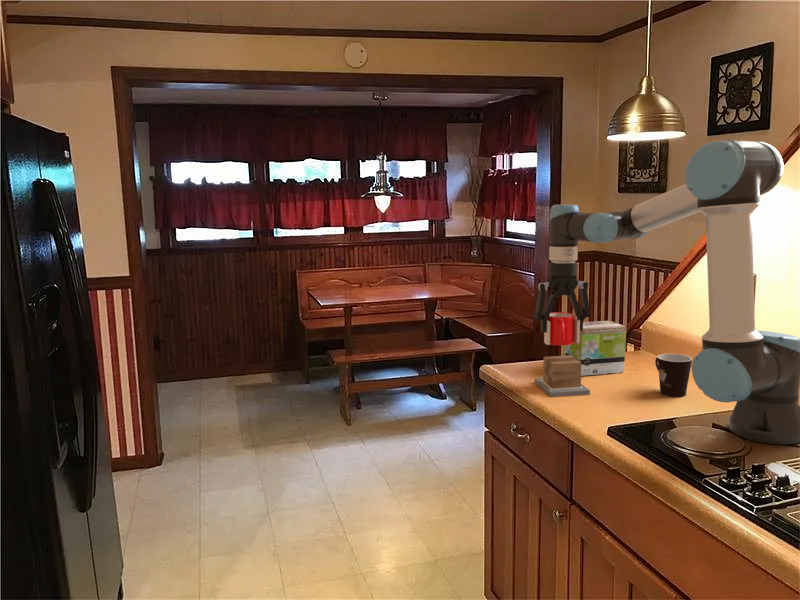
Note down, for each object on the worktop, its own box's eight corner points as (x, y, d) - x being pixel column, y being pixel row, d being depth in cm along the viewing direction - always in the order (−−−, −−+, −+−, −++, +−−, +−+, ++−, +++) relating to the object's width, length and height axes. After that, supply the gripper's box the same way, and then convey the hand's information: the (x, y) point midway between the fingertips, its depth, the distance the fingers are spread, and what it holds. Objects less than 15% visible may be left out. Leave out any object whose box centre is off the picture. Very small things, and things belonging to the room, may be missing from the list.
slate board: (589, 394, 180) (589, 390, 180) (550, 396, 179) (550, 392, 179) (570, 380, 194) (571, 375, 194) (534, 382, 193) (534, 378, 193)
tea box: (580, 377, 196) (581, 328, 194) (564, 369, 206) (564, 322, 204) (625, 373, 200) (627, 325, 197) (607, 364, 210) (608, 319, 207)
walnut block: (580, 387, 183) (581, 362, 182) (552, 388, 182) (553, 364, 181) (570, 379, 191) (570, 355, 190) (543, 380, 190) (543, 356, 189)
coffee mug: (693, 399, 174) (695, 362, 173) (659, 397, 176) (660, 361, 174) (684, 386, 186) (685, 351, 184) (651, 385, 187) (653, 350, 186)
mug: (548, 349, 179) (548, 320, 178) (543, 339, 191) (543, 312, 189) (578, 349, 178) (578, 320, 177) (571, 339, 190) (572, 312, 189)
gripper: (530, 264, 176) (529, 347, 180) (605, 261, 178) (602, 344, 182) (522, 261, 183) (521, 341, 187) (594, 258, 185) (591, 338, 189)
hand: (561, 342), depth 184 cm, fingers closed on mug, 8 cm apart
